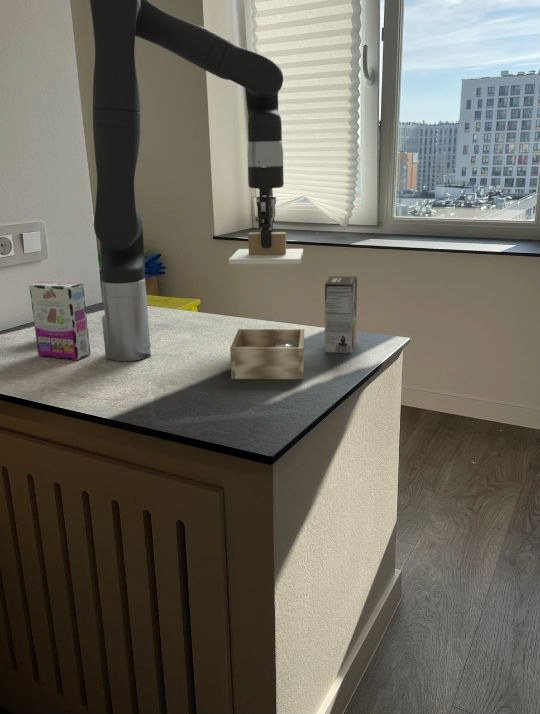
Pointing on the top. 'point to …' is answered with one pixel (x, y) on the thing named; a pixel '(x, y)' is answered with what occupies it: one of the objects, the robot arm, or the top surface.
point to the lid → (267, 251)
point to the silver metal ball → (284, 344)
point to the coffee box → (340, 314)
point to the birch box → (267, 354)
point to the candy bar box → (60, 320)
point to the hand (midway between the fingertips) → (267, 246)
